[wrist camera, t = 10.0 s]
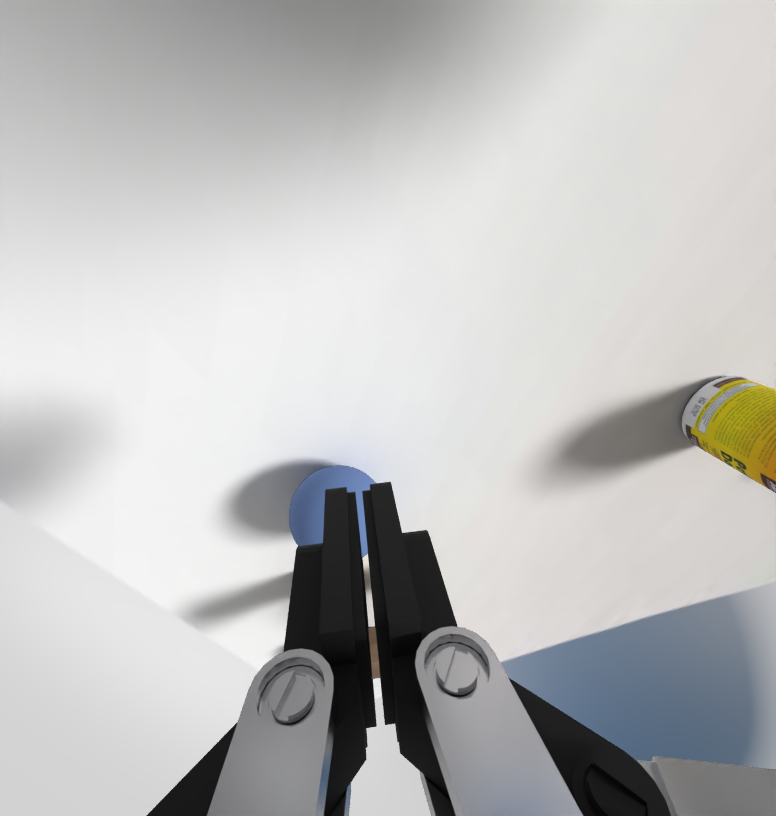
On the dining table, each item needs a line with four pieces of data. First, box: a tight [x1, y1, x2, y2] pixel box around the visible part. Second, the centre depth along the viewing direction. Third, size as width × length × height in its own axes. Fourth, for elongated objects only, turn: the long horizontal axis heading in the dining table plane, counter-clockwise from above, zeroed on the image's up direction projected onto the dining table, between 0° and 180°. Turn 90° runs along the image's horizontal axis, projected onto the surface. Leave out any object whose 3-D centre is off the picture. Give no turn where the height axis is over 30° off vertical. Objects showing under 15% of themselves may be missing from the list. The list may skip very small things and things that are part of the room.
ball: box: [289, 465, 376, 557], centre depth 25 cm, size 6×6×6 cm
